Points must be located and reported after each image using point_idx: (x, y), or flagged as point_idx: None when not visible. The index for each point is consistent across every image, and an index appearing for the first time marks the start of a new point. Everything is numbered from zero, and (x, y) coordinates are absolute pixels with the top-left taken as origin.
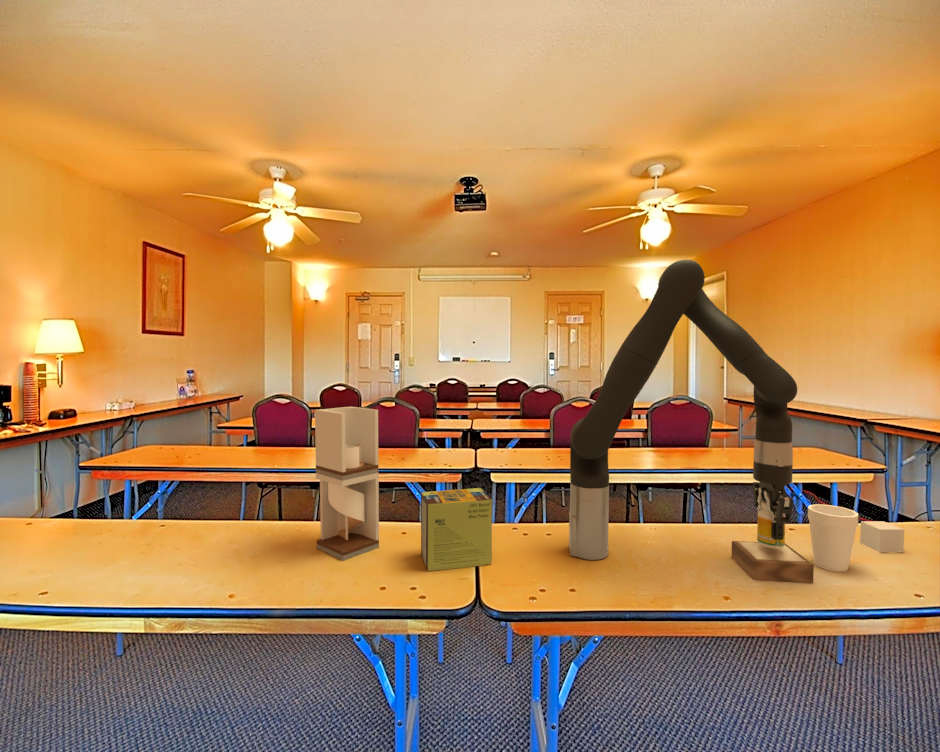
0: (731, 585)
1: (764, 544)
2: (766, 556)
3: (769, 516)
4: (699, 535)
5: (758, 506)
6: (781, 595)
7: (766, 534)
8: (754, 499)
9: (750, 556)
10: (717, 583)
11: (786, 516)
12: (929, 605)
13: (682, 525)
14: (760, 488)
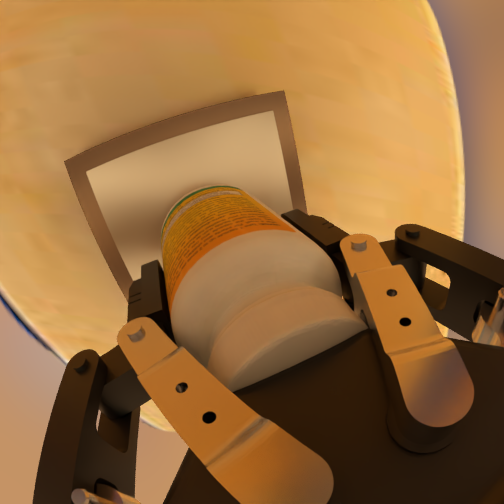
0: (17, 97)
1: (168, 212)
2: (132, 208)
3: (181, 319)
4: (395, 51)
5: (378, 253)
6: (19, 227)
7: (168, 240)
8: (448, 242)
9: (115, 146)
10: (18, 61)
11: (122, 423)
12: (162, 429)
13: (436, 38)
14: (450, 418)
